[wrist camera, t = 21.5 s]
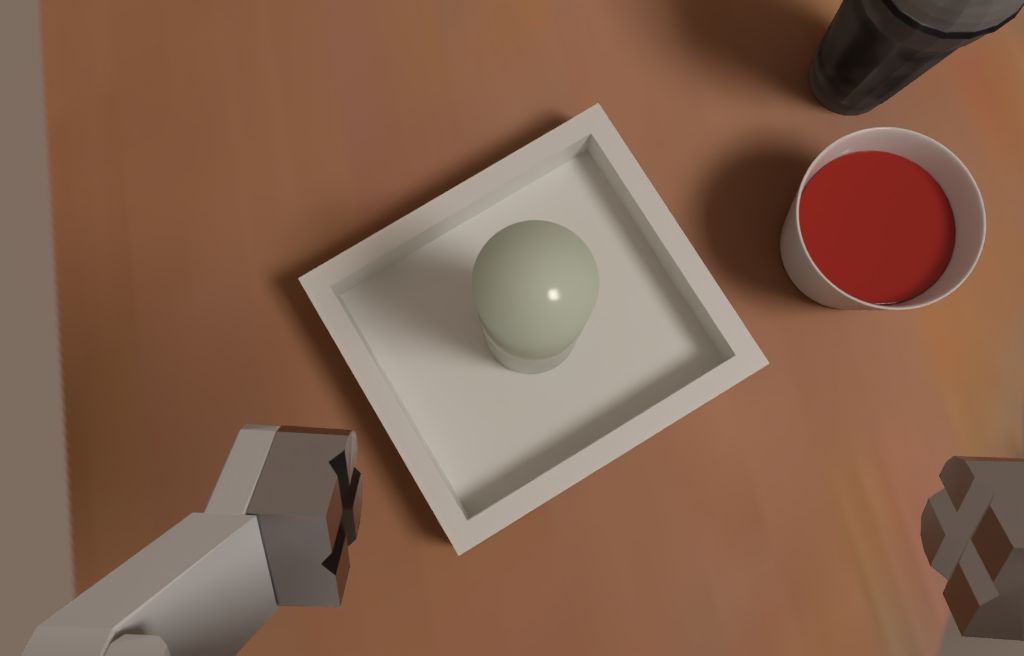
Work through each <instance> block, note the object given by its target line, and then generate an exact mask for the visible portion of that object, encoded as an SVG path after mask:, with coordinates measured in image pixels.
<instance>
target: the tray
mask: <svg viewBox="0 0 1024 656" xmlns="http://www.w3.org/2000/svg"><path fill="white" fill-rule="evenodd" d="M528 220H543V221H549V222H553V223H556V224H559V225H561V226H564V227H566V228H567V229H569V230H571V231H572V232H574V233H575V234H576V235H577V236H579V237H580V238H581V239H582V240H583V242H584V243H585V244H586V245H587V247H588V248H589V249H590V251H591V253H592V255H593V257H594V259H595V262H596V264H597V268H598V272H599V292H598V298H597V301H596V304H595V307H594V309H593V311H592V313H591V315H590V317H589V319H588V321H587V323H586V324H585V326H584V328H583V330H582V332H581V334H580V336H579V338H578V340H577V342H576V344H575V346H574V347H573V349H572V351H571V353H570V354H569V356H568V357H567V358H566V359H565V360H564V361H563V362H562V363H561V364H560V365H558V366H557V367H555V368H554V369H552V370H550V371H547V372H544V373H539V374H522V373H518V372H515V371H512V370H510V369H508V368H506V367H505V366H503V365H502V364H501V363H500V362H498V361H497V359H496V358H495V357H494V356H493V355H492V353H491V352H490V350H489V348H488V346H487V343H486V340H485V337H484V333H483V330H482V326H481V322H480V319H479V315H478V312H477V308H476V305H475V301H474V297H473V293H472V273H473V267H474V264H475V261H476V258H477V256H478V254H479V252H480V251H481V249H482V248H483V246H484V245H485V244H486V242H487V241H488V240H489V239H490V238H491V237H492V236H493V235H495V234H496V233H497V232H499V231H500V230H502V229H503V228H505V227H507V226H509V225H512V224H514V223H517V222H522V221H528ZM298 279H299V281H300V283H301V285H302V286H303V288H304V290H305V291H306V293H307V295H308V297H309V298H310V300H311V302H312V304H313V305H314V307H315V309H316V310H317V312H318V314H319V316H320V317H321V319H322V321H323V323H324V324H325V326H326V328H327V329H328V331H329V333H330V335H331V336H332V338H333V340H334V342H335V343H336V345H337V347H338V348H339V350H340V352H341V354H342V355H343V357H344V359H345V361H346V362H347V364H348V366H349V367H350V369H351V371H352V373H353V374H354V376H355V378H356V379H357V381H358V383H359V385H360V386H361V388H362V390H363V392H364V393H365V395H366V397H367V398H368V400H369V402H370V404H371V405H372V407H373V409H374V411H375V412H376V414H377V416H378V417H379V419H380V421H381V423H382V424H383V426H384V428H385V430H386V431H387V433H388V435H389V436H390V438H391V440H392V442H393V443H394V445H395V447H396V449H397V450H398V452H399V454H400V455H401V457H402V459H403V461H404V462H405V464H406V466H407V468H408V469H409V471H410V473H411V474H412V476H413V478H414V480H415V481H416V483H417V485H418V487H419V488H420V490H421V492H422V493H423V495H424V497H425V499H426V500H427V502H428V504H429V506H430V507H431V509H432V511H433V512H434V514H435V516H436V518H437V519H438V521H439V523H440V525H441V526H442V528H443V530H444V531H445V533H446V535H447V537H448V538H449V540H450V542H451V543H452V545H453V547H454V549H455V550H456V552H457V554H458V556H459V555H461V554H462V553H464V552H466V551H467V550H469V549H470V548H472V547H474V546H475V545H477V544H479V543H480V542H482V541H483V540H485V539H487V538H488V537H490V536H491V535H493V534H495V533H496V532H498V531H500V530H501V529H503V528H504V527H506V526H508V525H509V524H511V523H512V522H514V521H516V520H517V519H519V518H521V517H522V516H524V515H525V514H527V513H529V512H530V511H532V510H533V509H535V508H537V507H538V506H540V505H542V504H543V503H545V502H546V501H548V500H550V499H551V498H553V497H554V496H556V495H558V494H559V493H561V492H562V491H564V490H566V489H567V488H569V487H571V486H572V485H574V484H575V483H577V482H579V481H580V480H582V479H583V478H585V477H587V476H588V475H590V474H592V473H593V472H595V471H596V470H598V469H600V468H601V467H603V466H604V465H606V464H608V463H609V462H611V461H613V460H614V459H616V458H617V457H619V456H621V455H622V454H624V453H625V452H627V451H629V450H630V449H632V448H634V447H635V446H637V445H638V444H640V443H642V442H643V441H645V440H646V439H648V438H650V437H651V436H653V435H654V434H656V433H658V432H659V431H661V430H663V429H664V428H666V427H667V426H669V425H671V424H672V423H674V422H675V421H677V420H679V419H680V418H682V417H684V416H685V415H687V414H688V413H690V412H692V411H693V410H695V409H696V408H698V407H700V406H701V405H703V404H705V403H706V402H708V401H709V400H711V399H713V398H714V397H716V396H717V395H719V394H721V393H722V392H724V391H726V390H727V389H729V388H730V387H732V386H734V385H735V384H737V383H738V382H740V381H742V380H743V379H745V378H746V377H748V376H750V375H751V374H753V373H755V372H756V371H758V370H759V369H761V368H763V367H764V366H766V365H767V364H769V362H768V361H767V359H766V358H765V356H764V354H763V353H762V351H761V350H760V348H759V347H758V345H757V344H756V342H755V341H754V339H753V338H752V336H751V335H750V333H749V332H748V330H747V329H746V327H745V326H744V324H743V322H742V321H741V319H740V318H739V316H738V315H737V313H736V312H735V310H734V309H733V307H732V306H731V304H730V303H729V301H728V300H727V298H726V297H725V295H724V294H723V292H722V290H721V289H720V287H719V286H718V284H717V283H716V281H715V280H714V278H713V277H712V275H711V274H710V272H709V271H708V269H707V268H706V266H705V265H704V263H703V261H702V260H701V258H700V257H699V255H698V254H697V252H696V251H695V249H694V248H693V246H692V245H691V243H690V242H689V240H688V239H687V237H686V236H685V234H684V233H683V231H682V229H681V228H680V226H679V225H678V223H677V222H676V220H675V219H674V217H673V216H672V214H671V213H670V211H669V210H668V208H667V207H666V205H665V204H664V202H663V201H662V199H661V197H660V196H659V194H658V193H657V191H656V190H655V188H654V187H653V185H652V184H651V182H650V181H649V179H648V178H647V176H646V175H645V173H644V172H643V170H642V169H641V167H640V165H639V164H638V162H637V161H636V159H635V158H634V156H633V155H632V153H631V152H630V150H629V149H628V147H627V146H626V144H625V143H624V141H623V140H622V138H621V137H620V135H619V133H618V132H617V130H616V129H615V127H614V126H613V124H612V123H611V121H610V120H609V118H608V117H607V115H606V114H605V112H604V111H603V109H602V108H601V106H600V105H599V103H598V104H596V105H594V106H593V107H591V108H589V109H587V110H586V111H584V112H582V113H581V114H579V115H577V116H575V117H574V118H572V119H570V120H569V121H567V122H565V123H563V124H562V125H560V126H558V127H557V128H555V129H553V130H551V131H550V132H548V133H546V134H545V135H543V136H541V137H539V138H538V139H536V140H534V141H533V142H531V143H529V144H527V145H526V146H524V147H522V148H521V149H519V150H517V151H515V152H514V153H512V154H510V155H509V156H507V157H505V158H503V159H502V160H500V161H498V162H497V163H495V164H493V165H491V166H490V167H488V168H486V169H485V170H483V171H481V172H479V173H478V174H476V175H474V176H473V177H471V178H469V179H467V180H466V181H464V182H462V183H461V184H459V185H457V186H455V187H454V188H452V189H450V190H449V191H447V192H445V193H443V194H442V195H440V196H438V197H437V198H435V199H433V200H431V201H430V202H428V203H426V204H425V205H423V206H421V207H419V208H418V209H416V210H414V211H413V212H411V213H409V214H407V215H406V216H404V217H402V218H401V219H399V220H397V221H395V222H394V223H392V224H390V225H389V226H387V227H385V228H383V229H382V230H380V231H378V232H377V233H375V234H373V235H371V236H370V237H368V238H366V239H365V240H363V241H361V242H359V243H358V244H356V245H354V246H353V247H351V248H349V249H347V250H346V251H344V252H342V253H341V254H339V255H337V256H335V257H334V258H332V259H330V260H329V261H327V262H325V263H323V264H322V265H320V266H318V267H317V268H315V269H313V270H311V271H310V272H308V273H306V274H305V275H303V276H301V277H299V278H298Z"/></svg>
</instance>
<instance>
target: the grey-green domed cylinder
mask: <svg viewBox="0 0 1024 656" xmlns="http://www.w3.org/2000/svg"><path fill="white" fill-rule="evenodd" d="M598 292H599V272H598V268H597V264H596V262H595V259H594V257H593V255H592V253H591V251H590V249H589V248H588V247H587V245H586V244H585V243H584V242H583V240H582V239H581V238H580V237H579V236H577V235H576V234H575V233H574V232H572V231H571V230H569V229H567V228H566V227H564V226H561V225H559V224H556V223H553V222H549V221H543V220H528V221H522V222H517V223H514V224H512V225H509V226H507V227H505V228H503V229H502V230H500V231H499V232H497V233H496V234H495V235H493V236H492V237H491V238H490V239H489V240H488V241H487V242H486V244H485V245H484V246H483V248H482V249H481V251H480V252H479V254H478V256H477V258H476V261H475V264H474V267H473V273H472V293H473V297H474V301H475V305H476V308H477V312H478V315H479V319H480V322H481V326H482V330H483V333H484V337H485V340H486V343H487V346H488V348H489V350H490V352H491V353H492V355H493V356H494V357H495V358H496V359H497V361H498V362H500V363H501V364H502V365H503V366H505V367H506V368H508V369H510V370H512V371H515V372H518V373H522V374H539V373H544V372H547V371H550V370H552V369H554V368H555V367H557V366H558V365H560V364H561V363H562V362H563V361H564V360H565V359H566V358H567V357H568V356H569V354H570V353H571V351H572V349H573V347H574V346H575V344H576V342H577V340H578V338H579V336H580V334H581V332H582V330H583V328H584V326H585V324H586V323H587V321H588V319H589V317H590V315H591V313H592V311H593V309H594V307H595V304H596V301H597V298H598Z"/></svg>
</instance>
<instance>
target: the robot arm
mask: <svg viewBox="0 0 1024 656" xmlns="http://www.w3.org/2000/svg"><path fill="white" fill-rule="evenodd" d="M357 453H358V445H357V439H356V433H355V432H354V431H353V430H343V429H328V428H314V427H299V426H284V425H282V426H272V425H258V424H245V425H244V426H243V427H242V428H241V429H240V430H239V431H238V433H237V436H236V438H235V440H234V443H233V445H232V447H231V450H230V452H229V454H228V457H227V459H226V461H225V463H224V466H223V468H222V470H221V473H220V475H219V477H218V480H217V482H216V484H215V486H214V489H213V491H212V493H211V496H210V498H209V500H208V503H207V505H206V507H205V510H204V512H203V513H191V514H190V515H188V516H187V517H186V518H184V519H183V520H181V521H180V522H179V523H177V524H176V525H175V526H173V527H172V528H171V529H169V530H168V531H166V532H165V533H164V534H162V535H161V536H160V537H158V538H157V539H156V540H154V541H153V542H151V543H150V544H149V545H147V546H146V547H145V548H143V549H142V550H141V551H139V552H138V553H136V554H135V555H134V556H132V557H131V558H130V559H128V560H127V561H126V562H124V563H123V564H121V565H120V566H119V567H117V568H116V569H115V570H113V571H112V572H111V573H109V574H108V575H106V576H105V577H104V578H102V579H101V580H100V581H98V582H97V583H96V584H94V585H93V586H91V587H90V588H89V589H87V590H86V591H85V592H83V593H82V594H81V595H79V596H78V597H77V598H75V599H74V600H72V601H71V602H70V603H68V604H67V605H66V606H64V607H63V608H62V609H60V610H59V611H57V612H56V613H55V614H53V615H52V616H51V617H49V618H48V619H47V620H45V621H44V622H43V623H41V624H40V625H38V626H37V627H36V629H35V631H34V633H33V635H32V636H31V638H30V640H29V642H28V644H27V645H26V647H25V649H24V650H23V653H22V654H21V656H235V655H236V654H237V653H238V652H239V651H240V650H241V649H242V648H243V646H244V645H245V644H246V643H247V642H248V641H249V640H250V639H251V638H252V637H253V636H254V635H255V634H256V632H257V631H258V630H259V629H260V628H261V627H262V626H263V625H264V624H265V623H266V622H267V621H268V620H269V618H270V617H271V616H272V615H273V614H274V613H275V612H276V611H277V610H278V609H277V606H308V607H340V606H341V602H342V598H343V594H344V590H345V585H346V581H347V577H348V573H349V569H350V561H349V554H348V546H350V545H351V544H352V543H353V542H354V541H355V540H356V539H357V534H358V529H359V525H360V518H361V509H362V479H361V473H360V472H359V471H358V470H357V469H356V468H355V467H354V465H355V461H356V457H357ZM939 477H940V479H941V481H942V483H943V485H944V487H945V488H944V489H942V490H941V491H939V492H938V493H936V494H934V495H933V496H931V497H930V498H928V501H927V503H926V506H925V508H924V511H923V513H922V516H921V539H922V544H923V548H924V552H925V554H926V556H927V559H928V561H929V564H930V566H931V567H933V568H934V569H935V570H936V571H937V572H939V573H940V574H941V575H942V576H944V577H945V578H946V579H947V580H948V581H947V584H946V586H945V589H944V591H943V595H944V598H945V600H946V602H947V604H948V606H949V609H950V611H951V613H952V615H953V618H954V620H955V622H956V624H957V626H958V629H959V631H960V633H961V635H962V636H965V637H978V638H993V639H1005V640H1020V641H1024V459H1023V458H996V457H967V456H953V457H952V458H951V459H950V460H948V461H947V462H946V463H945V465H944V467H943V469H942V471H941V473H940V475H939Z"/></svg>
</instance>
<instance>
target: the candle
mask: <svg viewBox="0 0 1024 656" xmlns="http://www.w3.org/2000/svg"><path fill="white" fill-rule="evenodd" d="M985 232H986V216H985V209H984V204H983V200H982V197H981V194H980V191H979V189H978V186H977V184H976V182H975V180H974V179H973V177H972V175H971V174H970V172H969V171H968V169H967V168H966V167H965V165H964V164H963V163H962V162H961V161H960V160H959V159H958V158H957V157H956V156H955V155H954V154H953V153H952V152H951V151H950V150H949V149H947V148H946V147H945V146H943V145H942V144H940V143H939V142H937V141H935V140H933V139H932V138H929V137H927V136H925V135H923V134H920V133H917V132H914V131H911V130H907V129H902V128H894V127H876V128H869V129H864V130H860V131H856V132H853V133H851V134H848V135H846V136H844V137H842V138H840V139H838V140H836V141H835V142H833V143H832V144H831V145H829V146H828V147H827V148H825V149H824V150H823V151H822V152H821V153H820V154H819V155H818V156H817V157H816V158H815V160H814V161H813V162H812V164H811V165H810V166H809V168H808V170H807V171H806V173H805V175H804V177H803V179H802V181H801V184H800V186H799V188H798V190H797V193H796V195H795V197H794V200H793V202H792V204H791V206H790V209H789V211H788V214H787V216H786V219H785V221H784V224H783V227H782V231H781V237H780V252H781V258H782V262H783V265H784V268H785V270H786V272H787V274H788V276H789V277H790V279H791V281H792V282H793V283H794V284H795V286H796V287H797V288H798V289H799V290H800V291H801V292H802V293H803V294H805V295H806V296H807V297H809V298H810V299H812V300H813V301H815V302H817V303H819V304H822V305H824V306H827V307H831V308H835V309H842V310H908V309H914V308H919V307H923V306H926V305H929V304H931V303H934V302H936V301H938V300H940V299H942V298H944V297H945V296H947V295H949V294H950V293H951V292H953V291H954V290H955V289H956V288H958V287H959V286H960V285H961V284H962V283H963V282H964V281H965V279H966V278H967V277H968V276H969V274H970V273H971V272H972V270H973V269H974V267H975V265H976V263H977V261H978V259H979V257H980V254H981V251H982V248H983V244H984V240H985Z"/></svg>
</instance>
